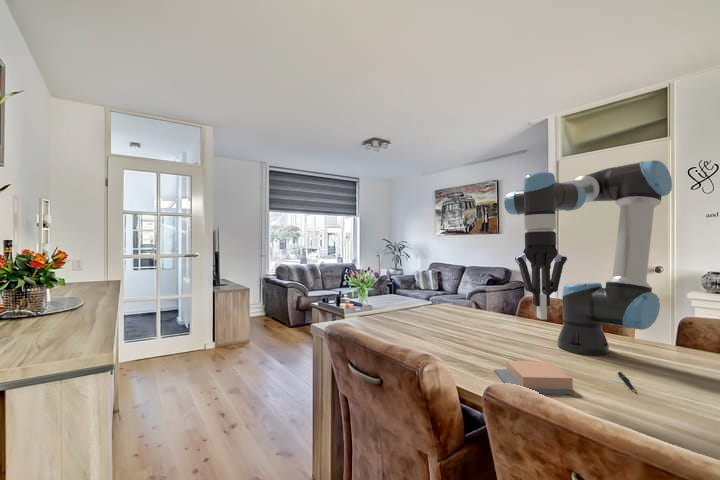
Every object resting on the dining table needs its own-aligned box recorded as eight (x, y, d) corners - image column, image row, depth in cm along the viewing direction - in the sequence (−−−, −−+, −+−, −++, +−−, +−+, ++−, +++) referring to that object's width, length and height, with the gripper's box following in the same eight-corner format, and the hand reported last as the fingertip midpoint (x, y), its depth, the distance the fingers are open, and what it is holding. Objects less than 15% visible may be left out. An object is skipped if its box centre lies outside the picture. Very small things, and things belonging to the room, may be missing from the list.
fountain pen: (638, 395, 85) (638, 389, 85) (632, 394, 85) (632, 388, 85) (621, 374, 98) (621, 369, 98) (616, 374, 98) (616, 368, 98)
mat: (543, 372, 100) (543, 370, 100) (571, 394, 85) (571, 392, 85) (494, 370, 101) (493, 369, 101) (512, 393, 86) (512, 391, 86)
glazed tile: (549, 361, 98) (506, 360, 99) (572, 378, 86) (523, 377, 87) (550, 372, 98) (506, 371, 99) (572, 390, 86) (523, 388, 87)
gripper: (558, 230, 96) (560, 315, 96) (510, 231, 97) (511, 315, 97) (572, 230, 89) (574, 321, 88) (520, 231, 90) (522, 321, 90)
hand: (541, 318), depth 93 cm, fingers closed
